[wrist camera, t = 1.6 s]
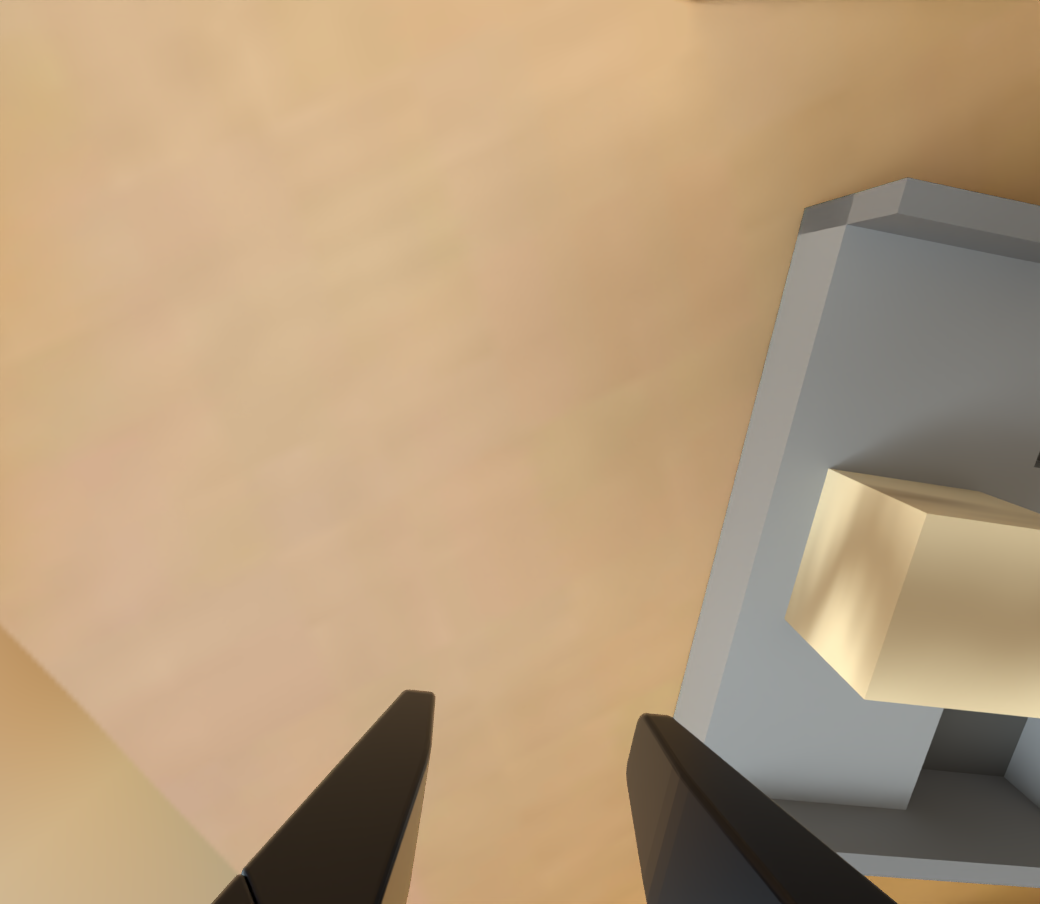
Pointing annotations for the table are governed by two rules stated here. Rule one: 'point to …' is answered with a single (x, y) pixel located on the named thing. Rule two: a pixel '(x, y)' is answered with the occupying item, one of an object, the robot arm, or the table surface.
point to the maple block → (923, 594)
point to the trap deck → (894, 454)
